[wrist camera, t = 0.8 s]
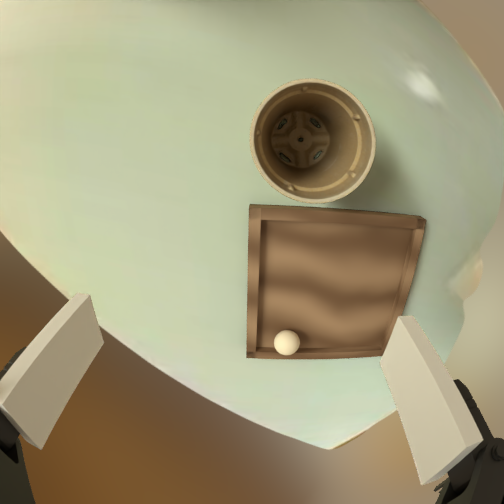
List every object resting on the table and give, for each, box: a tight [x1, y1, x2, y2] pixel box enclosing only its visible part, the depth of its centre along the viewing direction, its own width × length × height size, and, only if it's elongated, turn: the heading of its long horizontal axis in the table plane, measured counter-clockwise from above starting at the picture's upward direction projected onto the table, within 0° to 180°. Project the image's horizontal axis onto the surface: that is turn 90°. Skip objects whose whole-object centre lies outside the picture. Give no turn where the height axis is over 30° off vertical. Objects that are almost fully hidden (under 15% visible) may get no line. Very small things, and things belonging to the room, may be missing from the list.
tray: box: [247, 204, 426, 359], centre depth 32 cm, size 20×20×2 cm
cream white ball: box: [274, 330, 300, 355], centre depth 34 cm, size 3×3×3 cm
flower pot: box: [250, 79, 376, 203], centre depth 23 cm, size 9×9×9 cm
